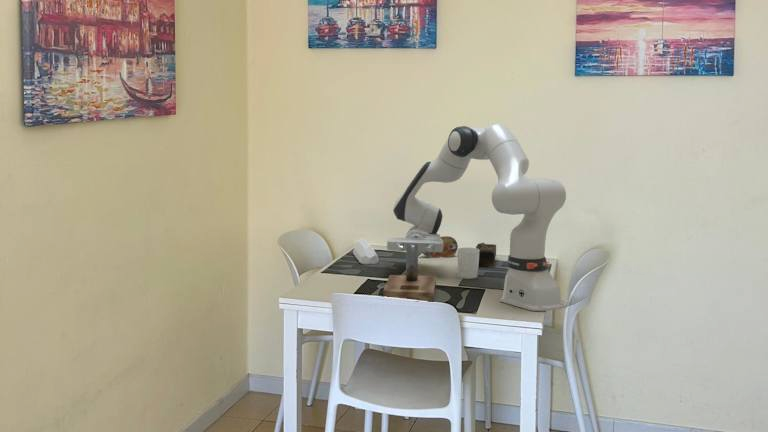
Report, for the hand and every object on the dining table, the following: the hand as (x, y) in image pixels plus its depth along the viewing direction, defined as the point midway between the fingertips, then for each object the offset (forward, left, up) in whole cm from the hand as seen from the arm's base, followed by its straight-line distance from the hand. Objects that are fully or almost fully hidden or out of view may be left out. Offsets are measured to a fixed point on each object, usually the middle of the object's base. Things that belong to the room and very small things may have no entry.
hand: (414, 249), depth 302 cm
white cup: (-2, -21, -11) cm, 24 cm away
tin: (+34, -29, -11) cm, 46 cm away
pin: (-11, +6, -8) cm, 15 cm away
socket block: (-15, +9, -11) cm, 21 cm away
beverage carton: (+17, -40, -12) cm, 45 cm away
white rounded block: (+42, 0, -12) cm, 44 cm away
